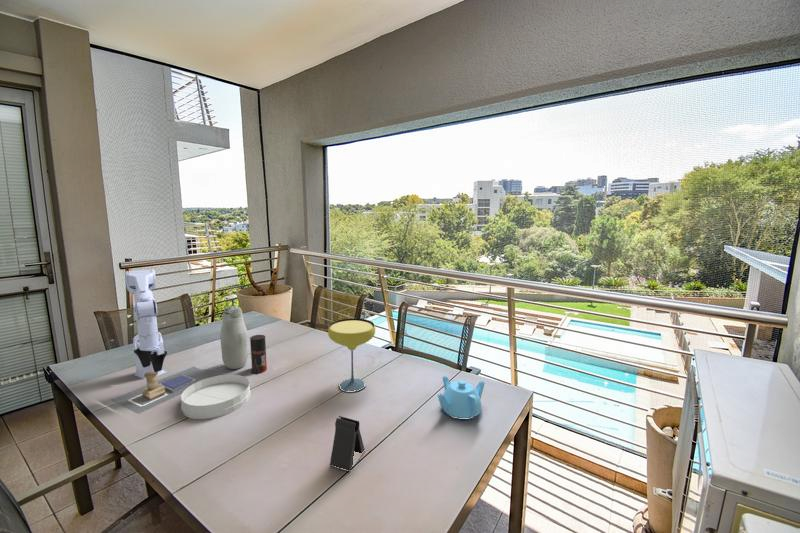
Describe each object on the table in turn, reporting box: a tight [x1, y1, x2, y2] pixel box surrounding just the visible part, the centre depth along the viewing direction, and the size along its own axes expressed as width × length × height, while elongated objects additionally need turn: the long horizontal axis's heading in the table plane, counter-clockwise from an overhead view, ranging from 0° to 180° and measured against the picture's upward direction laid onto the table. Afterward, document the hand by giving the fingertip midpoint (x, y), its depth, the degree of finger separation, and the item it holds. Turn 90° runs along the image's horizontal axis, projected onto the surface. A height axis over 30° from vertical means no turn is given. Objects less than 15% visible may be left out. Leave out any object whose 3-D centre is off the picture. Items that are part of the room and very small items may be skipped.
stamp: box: [142, 370, 165, 400], centre depth 125 cm, size 5×5×9 cm
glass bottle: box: [219, 305, 249, 370], centre depth 148 cm, size 10×10×28 cm
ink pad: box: [159, 375, 196, 393], centre depth 133 cm, size 9×9×2 cm
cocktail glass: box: [327, 318, 376, 391], centre depth 133 cm, size 18×18×25 cm
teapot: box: [437, 375, 486, 418], centre depth 119 cm, size 15×15×11 cm
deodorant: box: [249, 334, 268, 374], centre depth 146 cm, size 6×6×15 cm
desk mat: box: [111, 366, 220, 414], centre depth 132 cm, size 18×30×1 cm, turn 153°
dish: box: [180, 374, 251, 420], centre depth 123 cm, size 22×22×5 cm
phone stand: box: [329, 415, 366, 470], centre depth 95 cm, size 9×6×12 cm, turn 158°
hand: (152, 368), depth 126 cm, fingers open, 7 cm apart
